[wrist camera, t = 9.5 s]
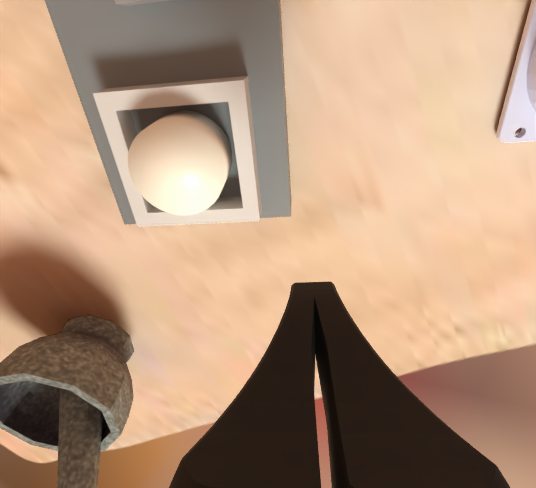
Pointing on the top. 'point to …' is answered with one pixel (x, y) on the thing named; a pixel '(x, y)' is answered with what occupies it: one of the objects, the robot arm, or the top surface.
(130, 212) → the panel
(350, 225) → the top surface
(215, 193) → the push button
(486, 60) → the top surface
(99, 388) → the mortar and pestle
